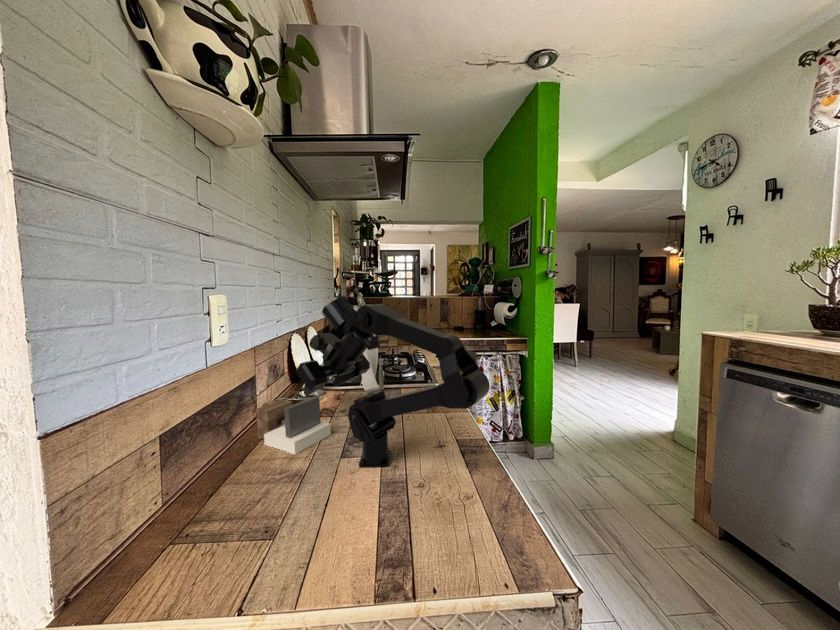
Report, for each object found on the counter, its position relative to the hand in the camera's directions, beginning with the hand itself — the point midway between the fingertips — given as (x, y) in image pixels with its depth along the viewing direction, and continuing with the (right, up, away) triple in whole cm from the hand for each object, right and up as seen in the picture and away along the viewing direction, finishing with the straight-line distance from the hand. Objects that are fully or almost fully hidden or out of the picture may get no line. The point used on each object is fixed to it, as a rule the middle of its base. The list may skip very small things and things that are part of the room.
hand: (320, 389), depth 85 cm
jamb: (-14, -14, +7) cm, 20 cm away
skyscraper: (+5, -10, +47) cm, 49 cm away
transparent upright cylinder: (+40, -10, +42) cm, 59 cm away
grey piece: (-7, -10, +4) cm, 13 cm away
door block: (-6, -14, +3) cm, 15 cm away
